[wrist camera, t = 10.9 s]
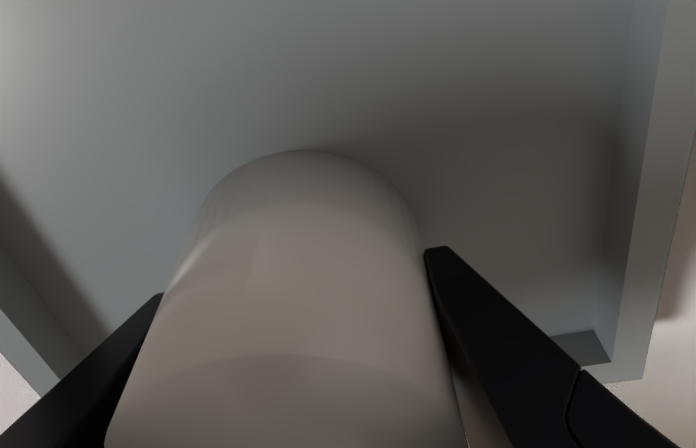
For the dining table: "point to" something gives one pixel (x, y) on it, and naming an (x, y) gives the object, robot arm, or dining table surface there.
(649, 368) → the dining table surface
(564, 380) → the robot arm
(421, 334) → the pebble grey
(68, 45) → the parts tray
